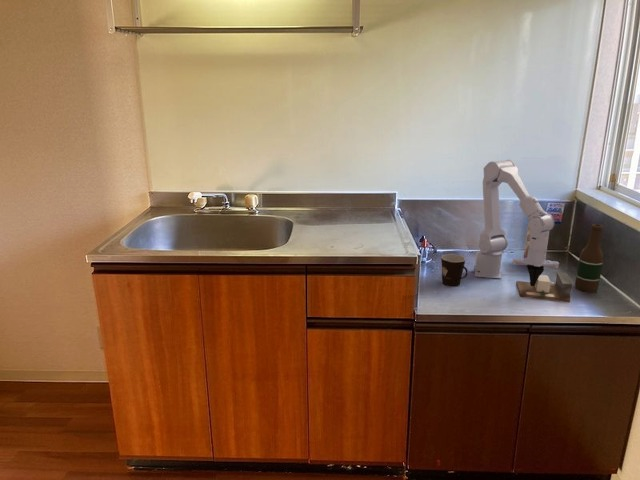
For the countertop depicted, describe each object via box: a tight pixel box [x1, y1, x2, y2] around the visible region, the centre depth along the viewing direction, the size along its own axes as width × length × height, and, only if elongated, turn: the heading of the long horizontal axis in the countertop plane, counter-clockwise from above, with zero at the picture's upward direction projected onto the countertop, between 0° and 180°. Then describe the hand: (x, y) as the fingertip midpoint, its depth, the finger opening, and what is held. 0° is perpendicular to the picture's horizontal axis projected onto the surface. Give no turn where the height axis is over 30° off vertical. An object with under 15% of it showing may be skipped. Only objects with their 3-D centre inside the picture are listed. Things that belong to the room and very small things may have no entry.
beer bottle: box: [574, 223, 604, 293], centre depth 174 cm, size 8×8×24 cm
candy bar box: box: [523, 226, 530, 258], centre depth 196 cm, size 11×5×16 cm, turn 168°
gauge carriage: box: [535, 274, 556, 295], centre depth 171 cm, size 6×9×4 cm
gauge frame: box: [515, 272, 573, 303], centre depth 173 cm, size 16×12×6 cm
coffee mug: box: [440, 253, 468, 287], centre depth 179 cm, size 12×9×10 cm
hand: (532, 285), depth 173 cm, fingers closed
